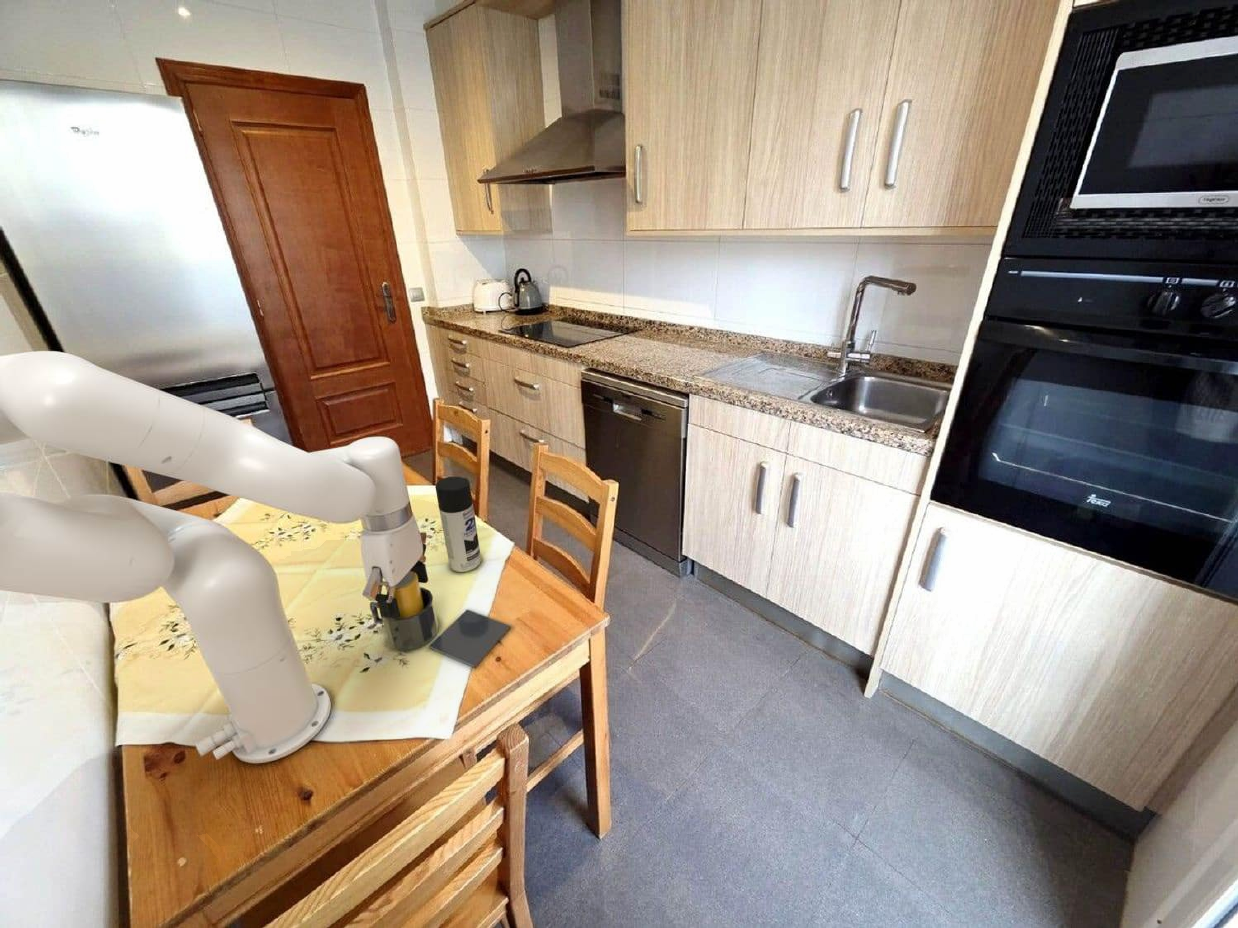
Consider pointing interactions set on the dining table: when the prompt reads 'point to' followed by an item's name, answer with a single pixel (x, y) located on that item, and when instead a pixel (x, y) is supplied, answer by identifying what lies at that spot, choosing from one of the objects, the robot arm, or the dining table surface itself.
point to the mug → (410, 625)
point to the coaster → (470, 638)
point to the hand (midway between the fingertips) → (406, 597)
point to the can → (408, 595)
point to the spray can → (458, 523)
